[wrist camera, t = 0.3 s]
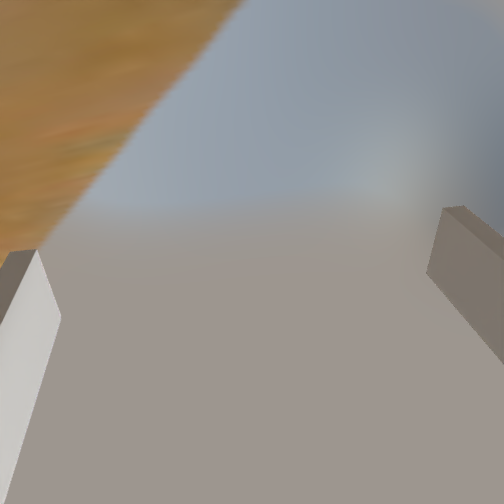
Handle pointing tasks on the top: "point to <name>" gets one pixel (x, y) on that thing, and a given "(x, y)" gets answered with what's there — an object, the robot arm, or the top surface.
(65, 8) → the top surface
